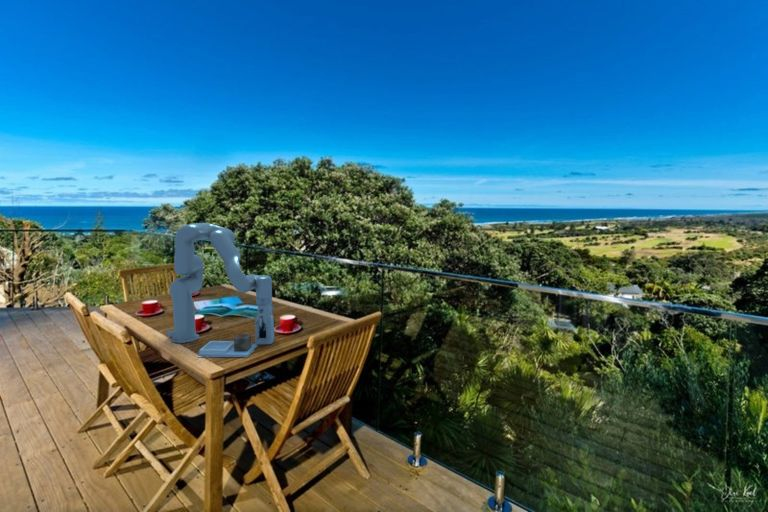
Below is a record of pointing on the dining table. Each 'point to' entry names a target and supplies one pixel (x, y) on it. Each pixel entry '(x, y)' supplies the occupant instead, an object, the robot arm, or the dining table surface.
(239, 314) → the dining table surface
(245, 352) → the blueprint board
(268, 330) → the small box
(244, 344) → the dark gray block
